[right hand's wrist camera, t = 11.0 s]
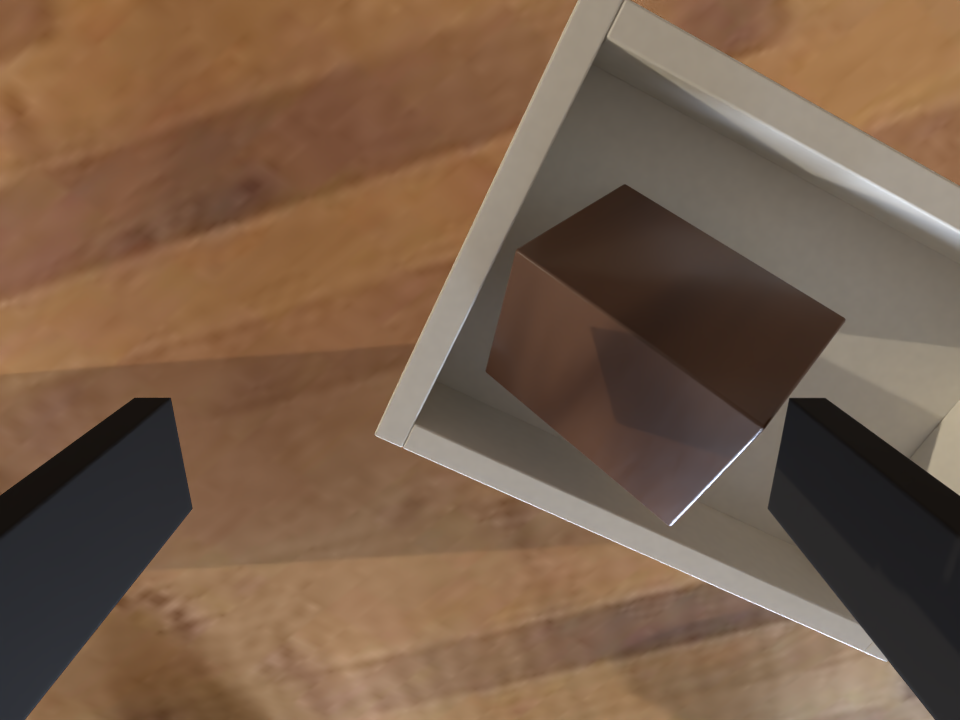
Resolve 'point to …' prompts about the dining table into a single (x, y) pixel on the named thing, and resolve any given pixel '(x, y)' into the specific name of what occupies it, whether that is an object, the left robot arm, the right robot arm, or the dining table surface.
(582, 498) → the tray
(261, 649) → the dining table surface
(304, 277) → the dining table surface
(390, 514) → the dining table surface
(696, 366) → the walnut block
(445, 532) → the dining table surface
